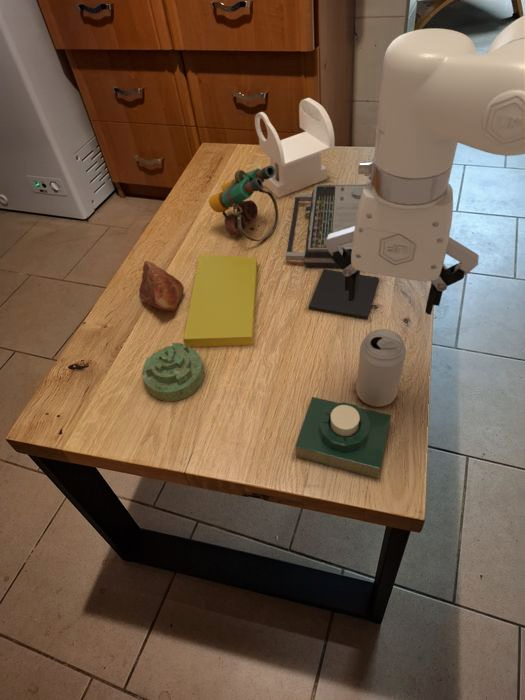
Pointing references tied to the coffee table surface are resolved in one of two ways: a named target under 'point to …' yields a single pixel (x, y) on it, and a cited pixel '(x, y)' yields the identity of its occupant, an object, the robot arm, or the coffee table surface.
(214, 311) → the flat olive board
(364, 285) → the coaster
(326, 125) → the tape dispenser
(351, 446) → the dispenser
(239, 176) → the binoculars
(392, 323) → the coffee table surface
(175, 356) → the decorative artifact
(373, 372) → the beverage can
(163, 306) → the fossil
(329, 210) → the radio
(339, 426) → the cylinder
